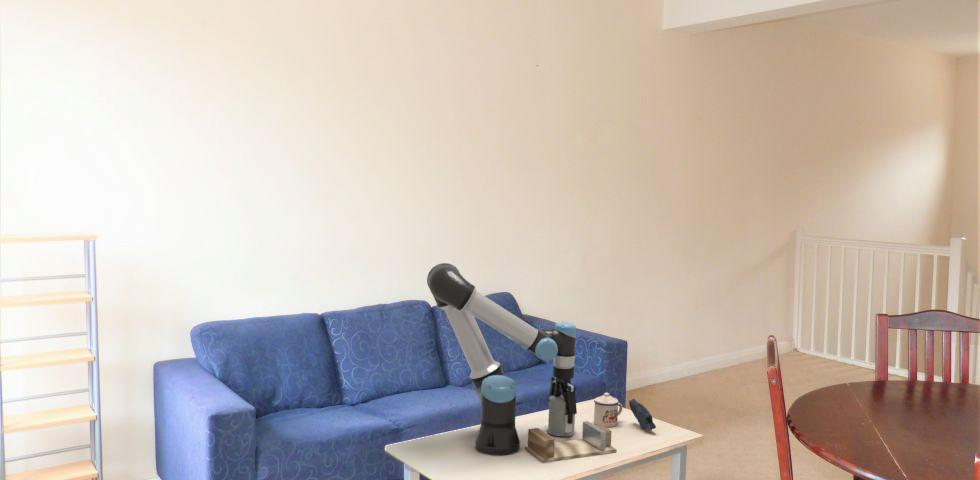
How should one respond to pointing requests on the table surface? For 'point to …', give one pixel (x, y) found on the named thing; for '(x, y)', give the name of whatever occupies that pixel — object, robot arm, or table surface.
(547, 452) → the press
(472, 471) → the table surface
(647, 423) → the stone
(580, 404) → the table surface
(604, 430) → the slide jaw
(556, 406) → the gray cylinder
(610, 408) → the teacup with lid
